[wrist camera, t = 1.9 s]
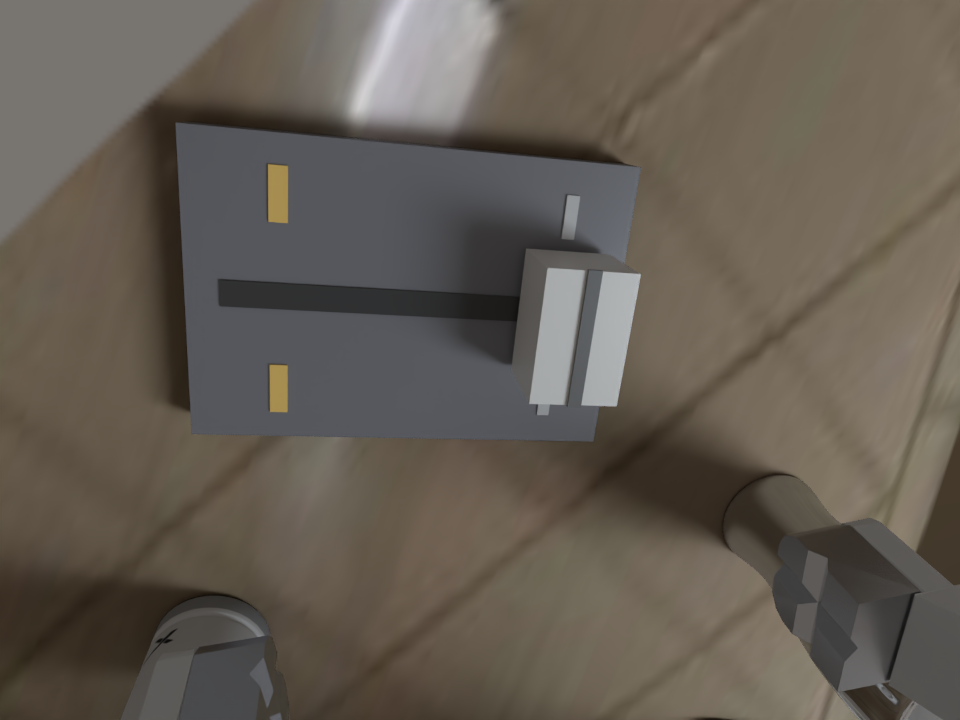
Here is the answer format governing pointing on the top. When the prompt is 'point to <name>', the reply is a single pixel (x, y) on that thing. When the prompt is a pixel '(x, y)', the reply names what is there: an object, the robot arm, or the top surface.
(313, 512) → the top surface
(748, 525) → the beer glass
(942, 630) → the robot arm
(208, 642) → the travel mug
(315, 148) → the fader panel
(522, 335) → the fader knob
